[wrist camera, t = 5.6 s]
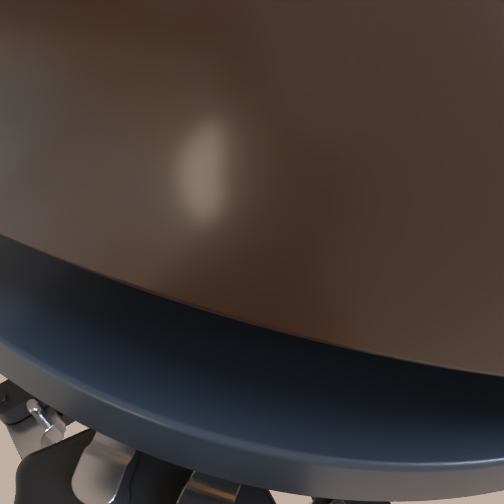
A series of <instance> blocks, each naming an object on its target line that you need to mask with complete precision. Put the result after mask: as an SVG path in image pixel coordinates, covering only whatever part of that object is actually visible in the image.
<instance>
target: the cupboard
mask: <svg viewBox="0 0 504 504" xmlns="http://www.w3.org/2000/svg"><path fill="white" fill-rule="evenodd" d="M0 236H3V237H5V238H7V239H9V240H12V241H14V242H16V243H19V244H21V245H23V246H26V247H28V248H31V249H33V250H35V251H38V252H40V253H43V254H45V255H48V256H50V257H53V258H55V259H58V260H60V261H63V262H65V263H68V264H70V265H73V266H76V267H78V268H81V269H83V270H86V271H89V272H91V273H94V274H97V275H99V276H102V277H105V278H108V279H110V280H113V281H116V282H119V283H122V284H124V285H127V286H130V287H133V288H136V289H139V290H142V291H145V292H148V293H151V294H154V295H157V296H160V297H163V298H166V299H169V300H172V301H175V302H178V303H181V304H184V305H187V306H191V307H194V308H197V309H200V310H204V311H207V312H210V313H213V314H217V315H220V316H223V317H227V318H230V319H234V320H237V321H241V322H244V323H248V324H251V325H255V326H258V327H262V328H266V329H269V330H273V331H277V332H281V333H285V334H288V335H292V336H296V337H300V338H304V339H308V340H312V341H316V342H320V343H324V344H328V345H333V346H337V347H341V348H346V349H350V350H355V351H359V352H364V353H368V354H373V355H378V356H382V357H387V358H392V359H397V360H402V361H407V362H413V363H418V364H423V365H429V366H435V367H440V368H446V369H452V370H459V371H465V372H471V373H478V374H485V375H492V376H500V377H504V0H0Z"/></svg>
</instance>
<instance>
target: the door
mask: <svg viewBox="0 0 504 504" xmlns="http://www.w3.org/2000/svg"><path fill="white" fill-rule="evenodd" d="M0 373H1V374H2V375H3V376H5V377H6V378H8V379H9V380H10V381H12V382H13V383H15V384H16V385H18V386H19V387H21V388H22V389H24V390H25V391H27V392H28V393H30V394H31V395H33V396H34V397H36V398H37V399H39V400H41V401H42V402H44V403H46V404H47V405H49V406H51V407H52V408H54V409H56V410H57V411H59V412H61V413H63V414H64V415H66V416H68V417H70V418H72V419H73V420H75V421H77V422H79V423H81V424H83V425H85V426H87V427H89V428H91V429H93V430H95V431H97V432H99V433H101V434H103V435H105V436H107V437H109V438H111V439H113V440H116V441H118V442H120V443H122V444H124V445H127V446H129V447H131V448H134V449H136V450H139V451H141V452H144V453H146V454H149V455H151V456H154V457H156V458H159V459H162V460H164V461H167V462H170V463H173V464H176V465H179V466H181V467H184V468H188V469H191V470H194V471H197V472H200V473H204V474H207V475H210V476H214V477H217V478H221V479H225V480H229V481H233V482H237V483H241V484H245V485H249V486H254V487H259V488H263V489H269V490H274V491H279V492H286V493H291V494H298V495H305V496H312V497H320V498H330V499H341V500H356V501H387V502H394V501H424V500H439V499H450V498H458V497H467V496H474V495H480V494H486V493H492V492H497V491H502V490H504V377H500V376H492V375H485V374H478V373H471V372H465V371H459V370H452V369H446V368H440V367H435V366H429V365H423V364H418V363H413V362H407V361H402V360H397V359H392V358H387V357H382V356H378V355H373V354H368V353H364V352H359V351H355V350H350V349H346V348H341V347H337V346H333V345H328V344H324V343H320V342H316V341H312V340H308V339H304V338H300V337H296V336H292V335H288V334H285V333H281V332H277V331H273V330H269V329H266V328H262V327H258V326H255V325H251V324H248V323H244V322H241V321H237V320H234V319H230V318H227V317H223V316H220V315H217V314H213V313H210V312H207V311H204V310H200V309H197V308H194V307H191V306H187V305H184V304H181V303H178V302H175V301H172V300H169V299H166V298H163V297H160V296H157V295H154V294H151V293H148V292H145V291H142V290H139V289H136V288H133V287H130V286H127V285H124V284H122V283H119V282H116V281H113V280H110V279H108V278H105V277H102V276H99V275H97V274H94V273H91V272H89V271H86V270H83V269H81V268H78V267H76V266H73V265H70V264H68V263H65V262H63V261H60V260H58V259H55V258H53V257H50V256H48V255H45V254H43V253H40V252H38V251H35V250H33V249H31V248H28V247H26V246H23V245H21V244H19V243H16V242H14V241H12V240H9V239H7V238H5V237H3V236H0Z"/></svg>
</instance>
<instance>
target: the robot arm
mask: <svg viewBox="0 0 504 504" xmlns="http://www.w3.org/2000/svg"><path fill="white" fill-rule="evenodd" d="M0 420H1V421H2V422H3V423H4V424H5V425H6V426H7V429H8V431H9V433H10V435H11V438H12V440H13V442H14V444H15V446H16V448H17V450H18V453H19V455H20V457H21V459H22V461H21V463H20V464H19V466H18V469H17V472H16V495H15V501H14V504H276V503H275V501H274V499H273V497H272V495H271V493H270V491H269V489H263V488H259V487H254V486H249V485H245V484H241V483H237V482H233V481H229V480H225V479H221V478H217V477H214V476H210V475H207V474H204V473H200V472H197V471H194V470H191V469H188V468H184V467H181V466H179V465H176V464H173V463H170V462H167V461H164V460H162V459H159V458H156V457H154V456H151V455H149V454H146V453H144V452H141V451H139V450H136V449H134V448H131V447H129V446H127V445H124V444H122V443H120V442H118V441H116V440H113V439H111V438H109V437H107V436H105V435H103V434H101V433H99V432H97V431H95V430H93V429H91V428H89V429H87V430H84V431H82V432H80V433H78V434H75V435H73V436H71V437H69V438H66V439H64V440H62V439H63V438H64V433H65V430H66V426H67V425H69V424H71V423H72V422H74V421H75V420H73V419H72V418H70V417H68V416H66V415H64V414H63V413H61V412H59V411H57V410H56V409H54V408H52V407H51V406H49V405H47V404H46V403H44V402H42V401H41V400H39V399H37V398H36V397H34V396H33V395H31V394H30V393H28V392H27V391H25V390H24V389H22V388H21V387H19V386H18V385H16V384H15V383H13V382H12V381H10V380H9V379H8V380H6V381H4V382H3V383H1V384H0ZM61 440H62V441H61ZM57 441H59V442H57ZM56 442H57V443H56ZM311 497H312V496H311ZM312 500H313V501H312V502H311V503H310V504H391V503H390V502H387V501H356V500H341V499H330V498H320V497H312Z"/></svg>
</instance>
